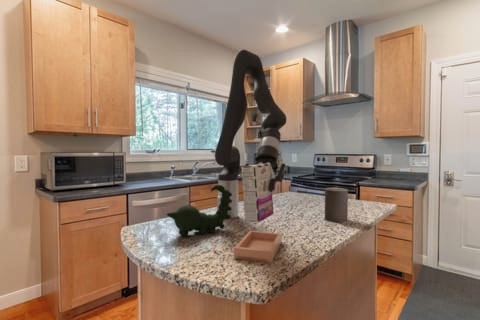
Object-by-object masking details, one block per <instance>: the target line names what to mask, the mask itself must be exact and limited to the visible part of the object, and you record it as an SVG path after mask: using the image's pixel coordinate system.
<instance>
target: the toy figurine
mask: <svg viewBox="0 0 480 320" xmlns="http://www.w3.org/2000/svg"><path fill="white" fill-rule="evenodd" d="M214 191H217V192H218V193H219V192H221V193H222V197H221V199H220V202H221V203H220V204H219V209H218V210H217V209H216V212H215V213H213V214H207V213H205V212H200V210H199V209H198V208H197V207H196V206H194V205H190V204H186V205H182V206H181V207H179V208H178V209H177V210H176V211H173V212H168V213H166V216H168V217H169V218H170V219H172V220H173V221H174V224H175V226H176V228H177V229H178V234H179V235H180V236H181V237H182V238H183V237H184V238H186V237H188V236H189V233H190V232H193V231H196V232H198V233H199V234H200V235H204V234H206V231H207V232H210V233H211V234H215V233H216V229H217V228H219V229H221V230H222V229H224V228H225V225H226V224H224V221H225V220H230V219H232V218H231V216H230V215H228V210H229V211H230V210H232V208H231V207H229V203H231V202H232V200H231V199H230V198H229V197H230V196H232V193H230V192H229V191H228V190H225V188H224V187H223V186H222V185H218V184H215V185H213V186H212V187H211V189H210V192H214Z"/></svg>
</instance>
